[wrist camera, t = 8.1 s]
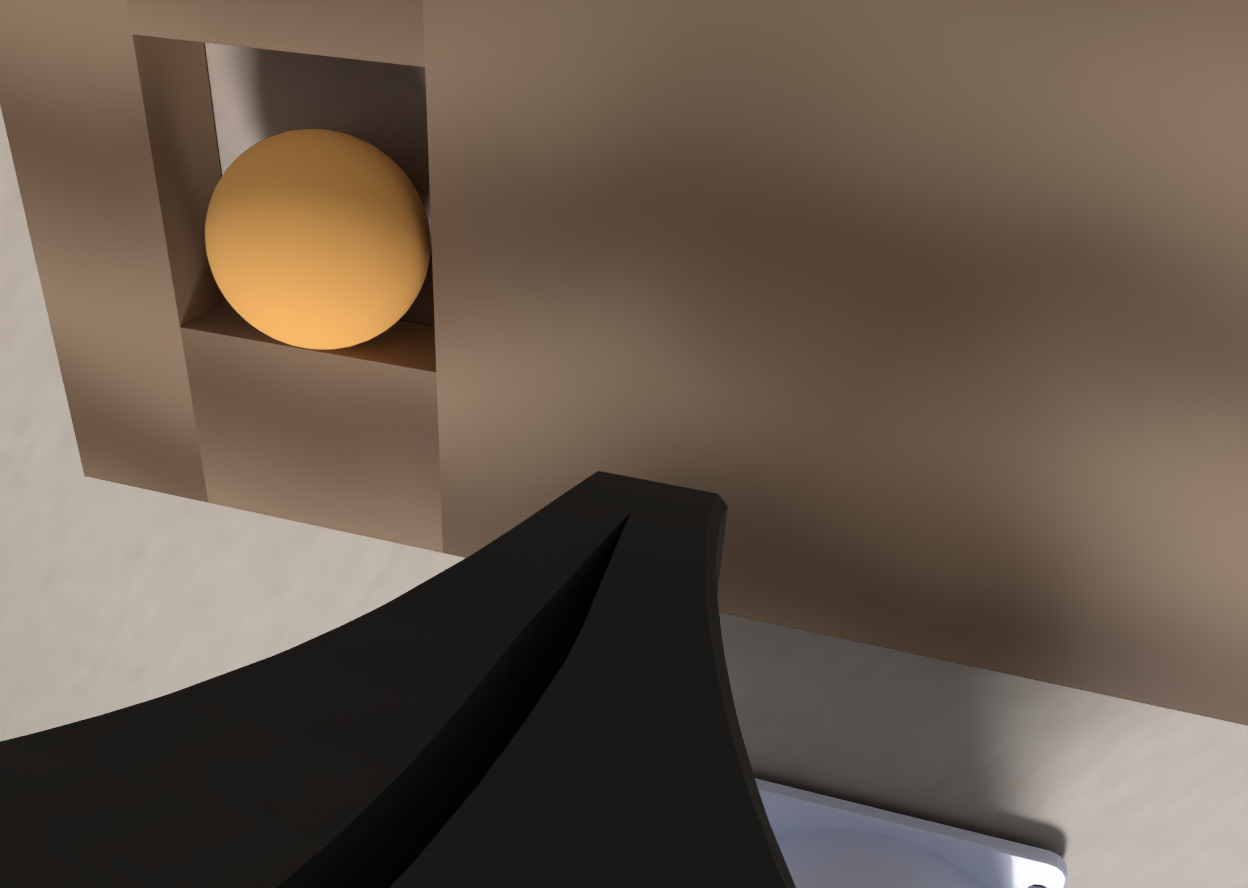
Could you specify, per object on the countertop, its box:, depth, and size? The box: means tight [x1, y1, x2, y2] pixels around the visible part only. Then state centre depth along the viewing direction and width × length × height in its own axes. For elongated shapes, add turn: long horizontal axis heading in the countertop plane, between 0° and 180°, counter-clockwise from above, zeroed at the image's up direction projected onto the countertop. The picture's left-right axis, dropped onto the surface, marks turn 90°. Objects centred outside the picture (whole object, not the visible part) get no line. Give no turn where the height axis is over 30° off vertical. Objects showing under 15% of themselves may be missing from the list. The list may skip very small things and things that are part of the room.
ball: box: [205, 129, 431, 349], centre depth 20 cm, size 4×4×4 cm
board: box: [0, 0, 1248, 725], centre depth 19 cm, size 14×26×2 cm, turn 87°
